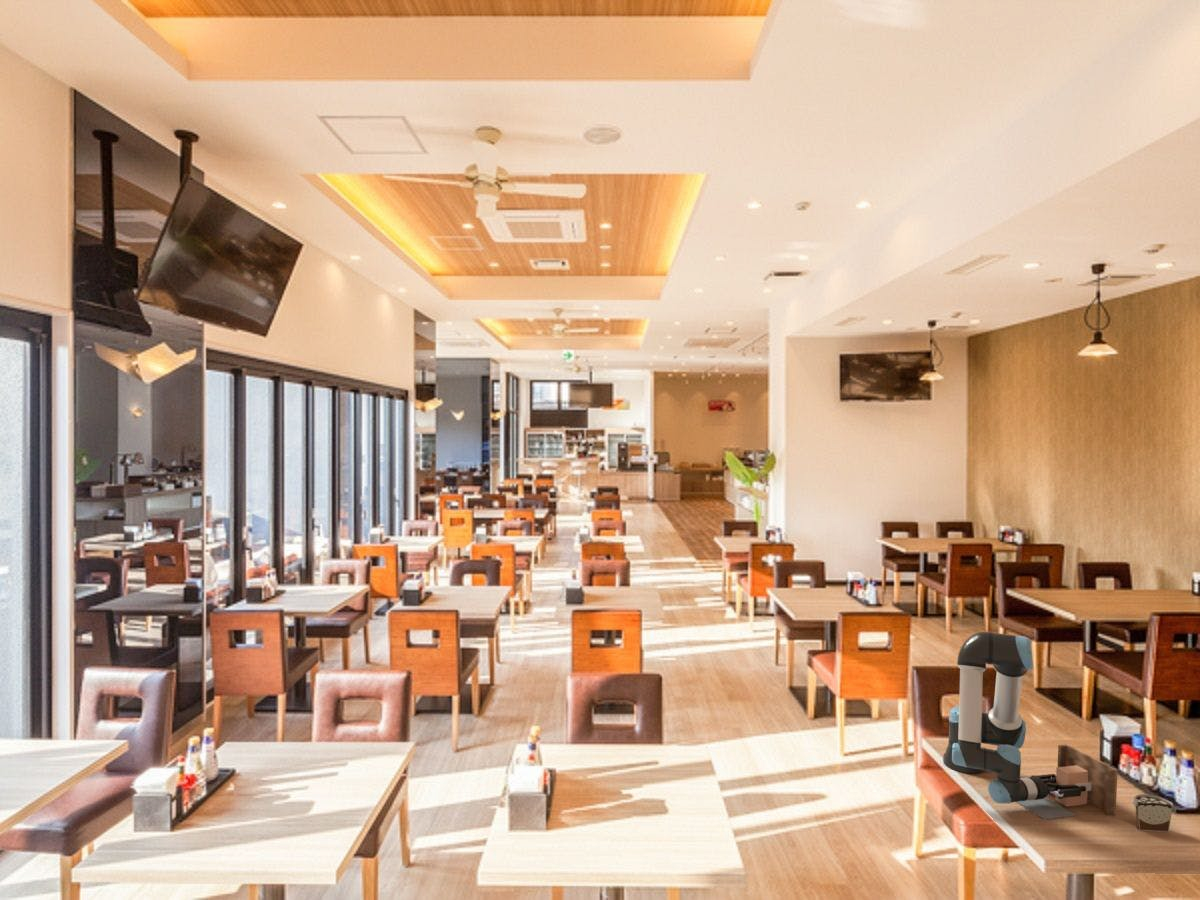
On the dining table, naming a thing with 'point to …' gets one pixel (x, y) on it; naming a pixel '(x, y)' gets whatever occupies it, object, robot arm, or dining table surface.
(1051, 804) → the slate mat
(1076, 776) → the carton
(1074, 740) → the dining table surface
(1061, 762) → the brown wooden board
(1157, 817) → the food container
